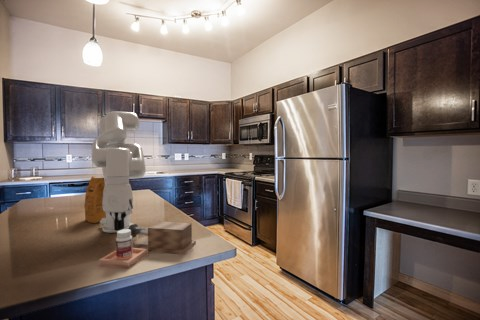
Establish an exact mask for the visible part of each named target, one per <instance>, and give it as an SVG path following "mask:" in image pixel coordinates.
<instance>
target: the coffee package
mask: <svg viewBox="0 0 480 320" xmlns="http://www.w3.org/2000/svg"><path fill="white" fill-rule="evenodd" d="M104 186H105V182H104V177H96V176H94V175H93V176H91V178H90V180H89V183H88V186H87V187H86V190H85V195H84V196H85V197H84V221H86V222H88V223H90V224H91V223H92V224H97V223H100V221H101V219H102V218H106V213H105V211H103V191H104Z"/></svg>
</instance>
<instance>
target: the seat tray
mask: <svg viewBox="0 0 480 320" xmlns="http://www.w3.org/2000/svg"><path fill="white" fill-rule="evenodd" d="M148 255H149V252H148V249H143V248H133V256H132V257H131V258H129V259H125V260H118V259H117V258H116V249H115V250H113V251H112V252H110V253H108V254H107V255H105V256H103V257H101V258H99V260H98V261H99V262H98V265H99V267H109V268H116V269H117V268H120V269H130V268H131V267H133V266H134V265H136V264H137V263H138V262H139V261H141V260H143V258H145V257H147V256H148Z"/></svg>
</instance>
